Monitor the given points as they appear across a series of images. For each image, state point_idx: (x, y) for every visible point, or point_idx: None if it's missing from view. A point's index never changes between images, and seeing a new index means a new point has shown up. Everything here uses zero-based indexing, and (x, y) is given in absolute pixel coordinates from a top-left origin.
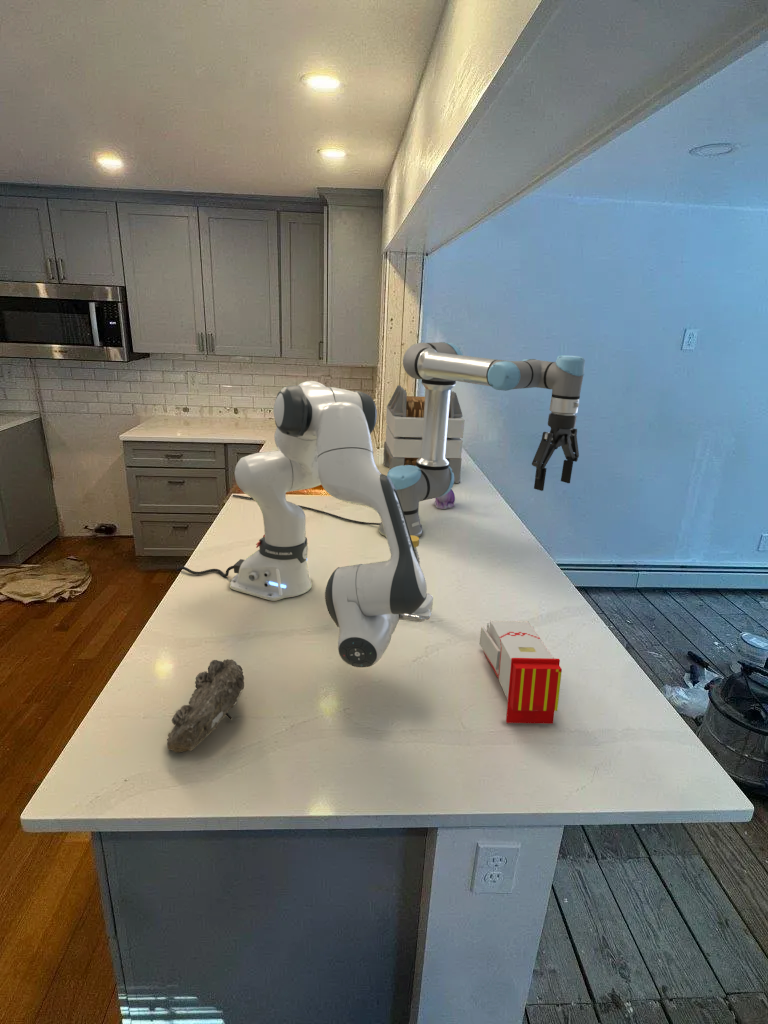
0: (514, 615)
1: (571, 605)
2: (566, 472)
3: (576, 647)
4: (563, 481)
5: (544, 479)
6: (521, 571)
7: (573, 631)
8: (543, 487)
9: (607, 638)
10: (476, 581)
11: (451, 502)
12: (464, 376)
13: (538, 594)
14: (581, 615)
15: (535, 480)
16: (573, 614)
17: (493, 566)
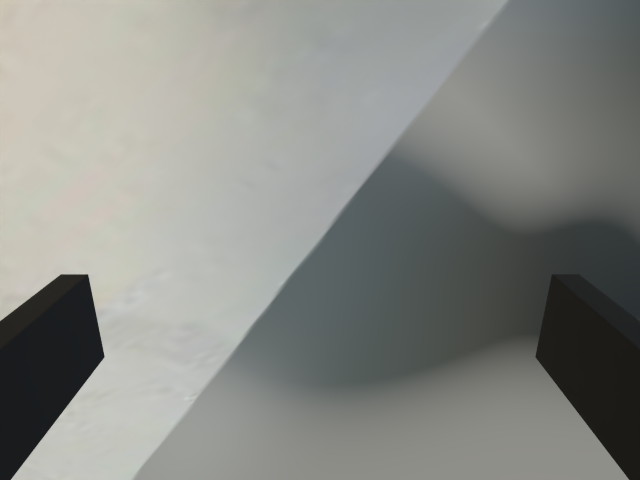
0: (33, 274)
1: (217, 329)
2: (607, 391)
3: (69, 425)
4: (546, 308)
5: (28, 442)
6: (273, 109)
7: (115, 392)
8: (82, 377)
9: (161, 442)
10: (67, 62)
11: None
12: None
13: (188, 243)
14: (196, 367)
15: (2, 328)
16: (182, 355)
17: (215, 11)
